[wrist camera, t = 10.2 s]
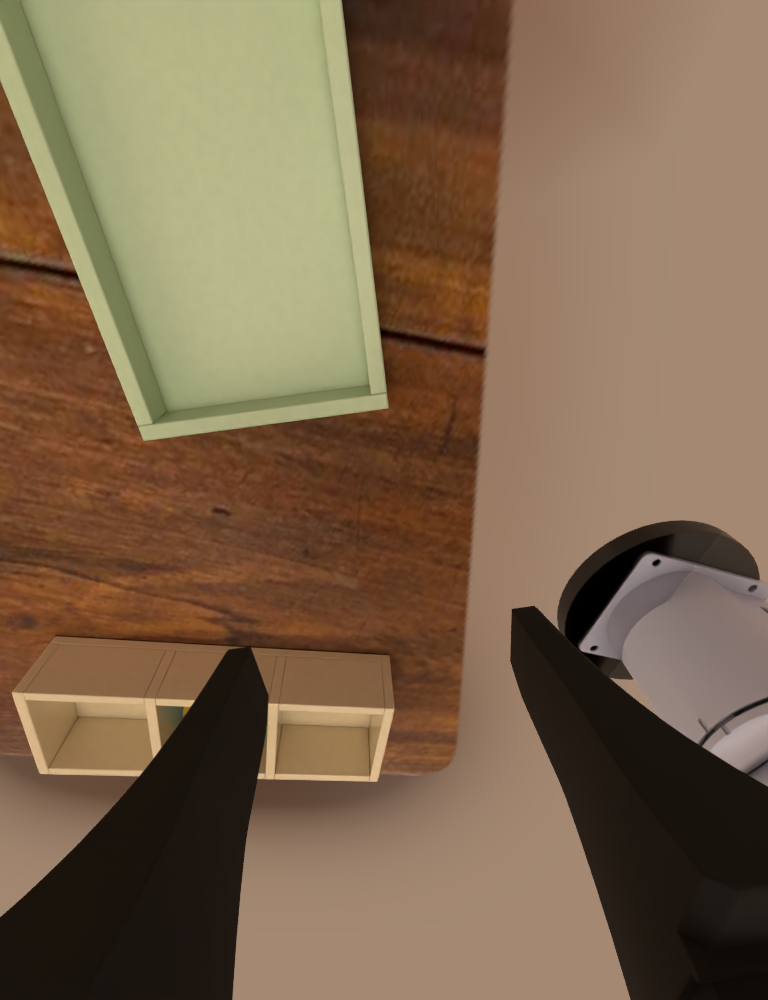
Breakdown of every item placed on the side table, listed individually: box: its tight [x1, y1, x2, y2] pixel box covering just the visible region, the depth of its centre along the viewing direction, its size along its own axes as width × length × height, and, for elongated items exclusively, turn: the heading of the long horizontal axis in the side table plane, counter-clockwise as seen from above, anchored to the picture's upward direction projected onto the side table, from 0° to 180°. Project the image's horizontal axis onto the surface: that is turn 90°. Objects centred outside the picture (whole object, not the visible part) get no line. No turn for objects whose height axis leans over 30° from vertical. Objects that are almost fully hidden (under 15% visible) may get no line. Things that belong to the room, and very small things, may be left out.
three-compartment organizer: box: [12, 636, 395, 782], centre depth 25 cm, size 18×6×4 cm, turn 82°
